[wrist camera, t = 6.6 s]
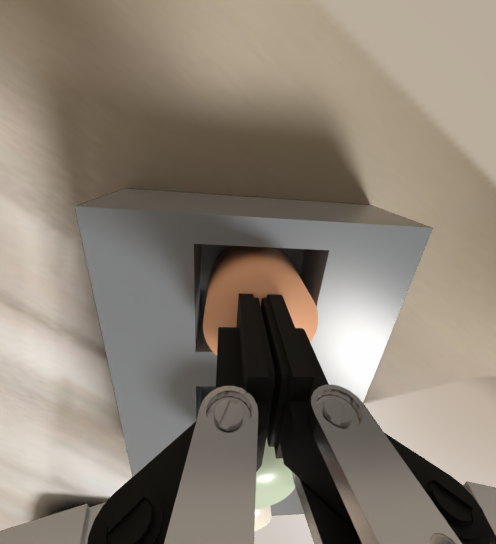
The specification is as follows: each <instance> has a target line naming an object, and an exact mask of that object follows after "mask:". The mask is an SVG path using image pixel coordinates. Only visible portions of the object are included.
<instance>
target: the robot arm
mask: <svg viewBox="0 0 496 544" xmlns="http://www.w3.org/2000/svg"><path fill="white" fill-rule="evenodd" d="M266 438H267V442H268V446H269V447H274V450H275V456H276V459H280V458H283V462H284V465H285V466H286V467H288V468H289V469H290V470H291V471H292V475H293V480H294V484H295V487H296V490H297V493H298V496H299V499H300V502H301V505H302V508H303V511H304V514H305V517H306V520H307V523H308V526H309V529H310V532H311V535H312V538H313V541H314V544H496V488H495V487H490V486H485V485H481V484H476V483H471V482H466V483H465V484H464V485H462V484H460V483H459V482H458V481H456V480H455V479H454V478H453V477H451V476H450V475H448V474H447V473H445V472H443V471H442V470H440V469H439V468H438V467H436V466H434V465H433V464H431V463H430V462H428V461H427V460H425V459H424V458H422V457H421V456H419V455H418V454H416V453H414V452H413V451H411V450H410V449H408V448H407V447H405V446H404V445H402V444H401V443H399V442H398V441H396V440H394V439H393V438H391V437H390V436H388V435H387V434H385V433H384V432H383V431H382V429H381V428H380V426H379V425H378V424H377V422H376V421H375V419H374V418H373V417H372V415H371V414H370V412H369V411H368V409H367V408H366V407H365V405H364V404H363V403H362V401H361V400H360V399H359V398H358V397H357V396H356V395H355V394H353V393H352V392H351V391H349V390H347V389H345V388H343V387H341V386H337V385H329V384H328V381H327V379H326V377H325V375H324V372H323V370H322V368H321V366H320V363H319V361H318V359H317V357H316V354H315V352H314V350H313V348H312V345H311V343H310V341H309V339H308V336H307V334H306V332H305V330H304V329H303V328H295V326H294V324H293V321H292V318H291V316H290V313H289V311H288V308H287V306H286V303H285V301H284V298H283V296H282V295H278V294H268V295H267V298H262V301H261V306H260V302H259V298H254V295H253V294H241V293H239V297H238V311H237V325H236V327H218V346H217V370H216V389H215V390H213V391H211V392H210V393H209V394H208V395H207V396H206V397H205V398H204V400H203V402H202V404H201V406H200V410H199V414H198V417H197V421H196V422H194V423H193V424H192V425H191V426H190V427H189V428H188V429H187V430H185V431H184V432H183V433H182V434H181V435H180V436H179V437H177V438H176V439H175V440H174V441H173V442H172V443H171V444H170V445H168V446H167V447H166V448H165V449H164V450H163V451H162V452H161V453H159V454H158V455H157V456H156V457H155V458H154V459H153V460H151V461H150V462H149V463H148V464H147V465H146V466H145V467H144V468H142V469H141V470H140V471H139V472H138V473H137V474H136V475H135V476H133V477H132V478H131V479H130V480H129V481H128V482H127V483H125V484H124V485H123V486H122V487H121V488H120V489H119V490H118V491H116V492H115V493H114V494H113V495H112V496H111V497H110V499H109V500H108V501H107V502H105V503H102V504H99V505H95V506H92V507H89V506H88V504H84V505H81V506H78V507H75V508H71V509H68V510H65V511H62V512H59V513H56V514H52V515H49V516H46V517H43V518H40V519H37V520H33V521H30V522H27V523H24V524H21V525H18V526H14V527H11V528H8V529H5V530H2V531H0V544H254V525H255V496H256V472H257V471H258V470H259V468H260V467H261V465H262V461H263V455H264V449H265V444H266Z"/></svg>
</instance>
